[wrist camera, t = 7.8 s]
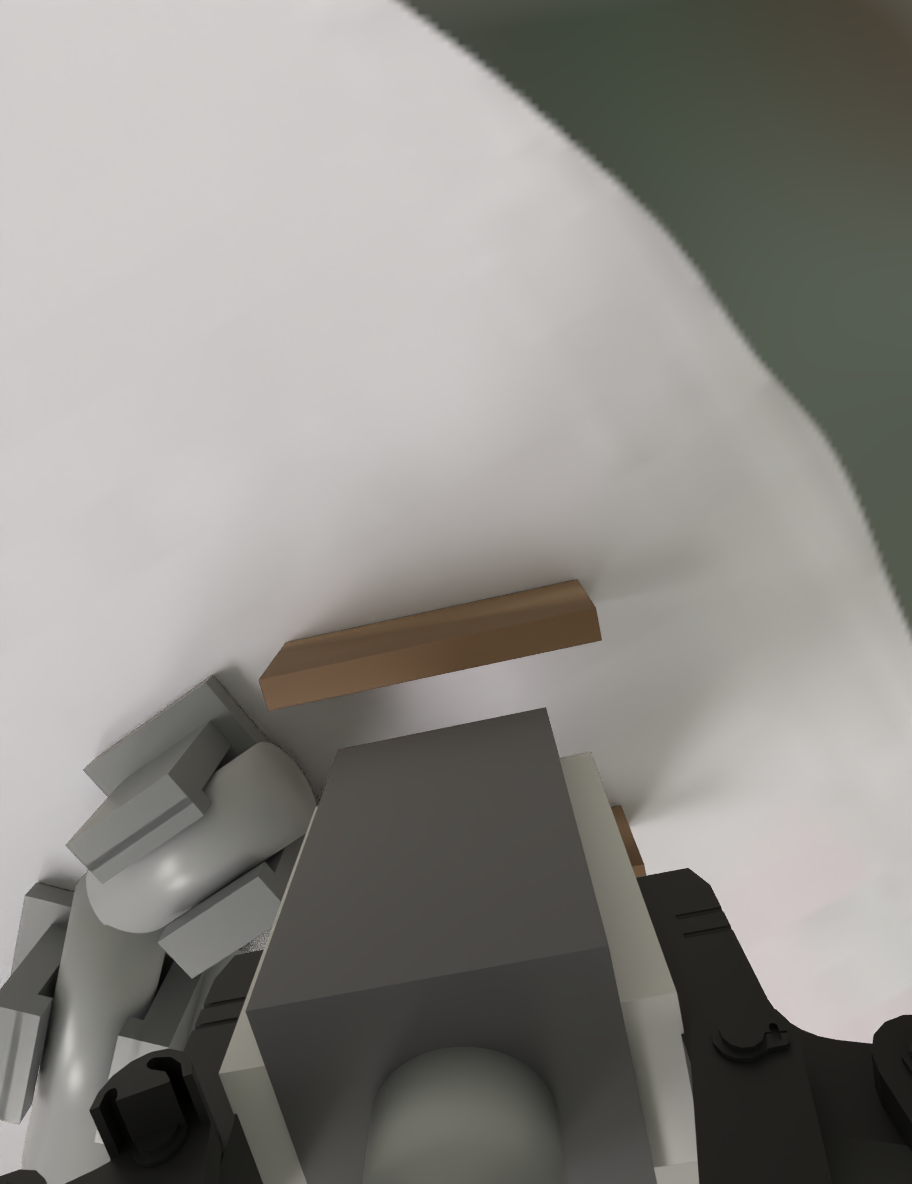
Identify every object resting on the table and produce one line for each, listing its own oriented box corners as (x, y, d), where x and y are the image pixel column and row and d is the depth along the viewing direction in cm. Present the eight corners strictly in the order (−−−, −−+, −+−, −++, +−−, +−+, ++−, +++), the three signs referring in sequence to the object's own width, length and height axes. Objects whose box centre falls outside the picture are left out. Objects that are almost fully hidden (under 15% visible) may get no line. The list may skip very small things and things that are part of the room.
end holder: (625, 829, 22) (649, 891, 19) (356, 882, 22) (342, 950, 19) (577, 579, 20) (595, 607, 17) (285, 642, 20) (258, 679, 17)
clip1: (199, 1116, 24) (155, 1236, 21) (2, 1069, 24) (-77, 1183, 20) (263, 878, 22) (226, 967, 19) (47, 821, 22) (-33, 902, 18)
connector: (546, 707, 16) (629, 1028, 8) (584, 889, 17) (691, 1333, 9) (338, 749, 16) (213, 1101, 8) (388, 926, 17) (324, 1387, 9)
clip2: (225, 927, 22) (181, 1024, 19) (80, 769, 21) (5, 841, 18) (368, 834, 22) (350, 918, 18) (226, 664, 20) (178, 719, 17)
